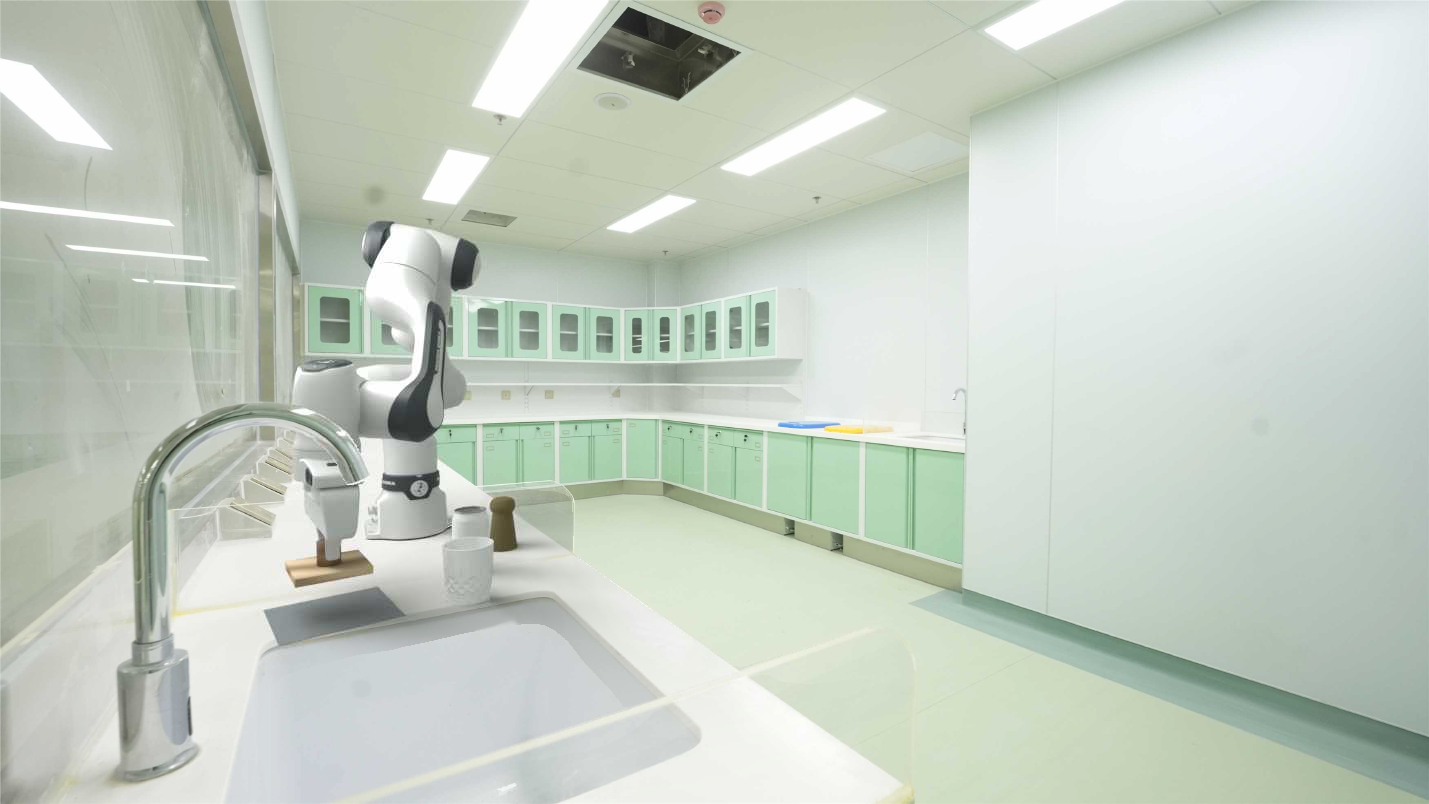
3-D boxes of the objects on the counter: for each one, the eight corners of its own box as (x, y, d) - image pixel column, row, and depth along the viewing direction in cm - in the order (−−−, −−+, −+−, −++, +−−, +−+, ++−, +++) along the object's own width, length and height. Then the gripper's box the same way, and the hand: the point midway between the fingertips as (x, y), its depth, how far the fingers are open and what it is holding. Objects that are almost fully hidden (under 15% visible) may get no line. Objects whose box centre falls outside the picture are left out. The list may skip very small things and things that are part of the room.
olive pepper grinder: (493, 553, 128) (493, 501, 128) (483, 546, 133) (483, 496, 132) (521, 548, 132) (521, 497, 132) (511, 542, 137) (511, 493, 136)
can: (476, 578, 113) (475, 514, 113) (444, 575, 115) (444, 512, 114) (495, 567, 120) (495, 506, 119) (465, 564, 121) (465, 504, 120)
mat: (263, 614, 96) (263, 609, 96) (377, 590, 106) (377, 586, 106) (279, 651, 84) (278, 645, 84) (405, 620, 95) (405, 614, 95)
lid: (285, 568, 95) (284, 538, 95) (358, 556, 102) (358, 528, 102) (295, 587, 88) (294, 554, 88) (373, 573, 95) (373, 542, 94)
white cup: (502, 603, 102) (501, 543, 101) (453, 616, 96) (452, 553, 96) (482, 590, 108) (482, 533, 107) (435, 601, 102) (435, 542, 102)
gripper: (292, 458, 99) (294, 542, 100) (315, 479, 84) (316, 577, 85) (337, 455, 104) (338, 535, 105) (367, 474, 88) (368, 568, 89)
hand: (329, 554), depth 95 cm, fingers closed on lid, 3 cm apart
